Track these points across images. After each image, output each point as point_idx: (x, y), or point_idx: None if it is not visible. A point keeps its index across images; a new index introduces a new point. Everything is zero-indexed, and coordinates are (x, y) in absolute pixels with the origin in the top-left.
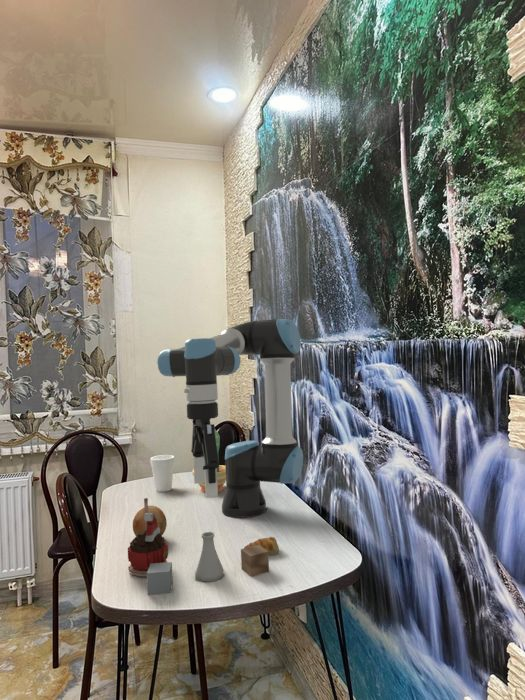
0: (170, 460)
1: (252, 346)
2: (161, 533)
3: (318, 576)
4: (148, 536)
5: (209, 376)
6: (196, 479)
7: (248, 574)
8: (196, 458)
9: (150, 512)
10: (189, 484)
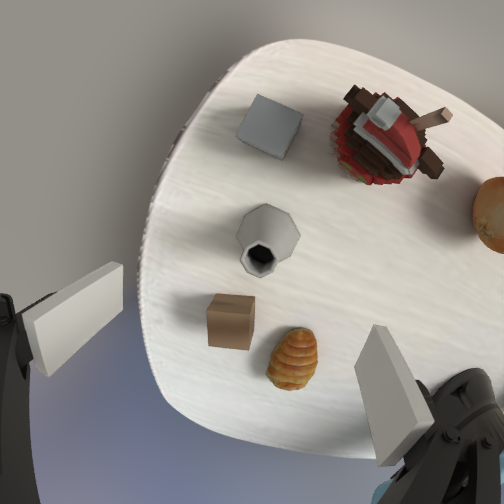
0: None
1: None
2: (475, 226)
3: (166, 363)
4: (362, 120)
5: None
6: (375, 342)
7: (226, 294)
8: (405, 431)
9: None
10: None
